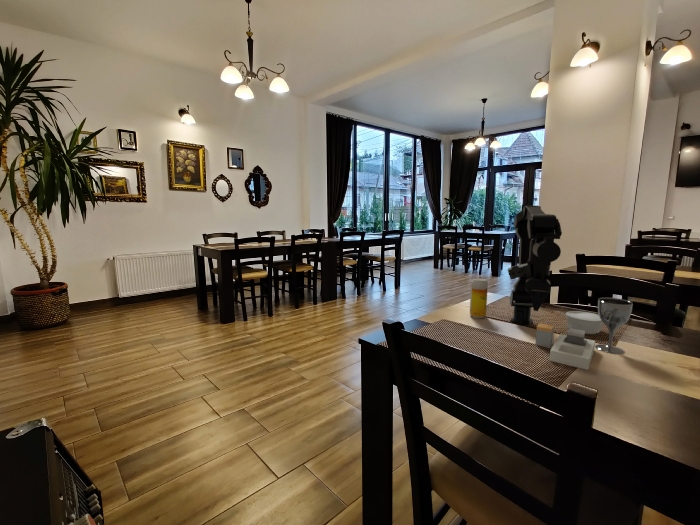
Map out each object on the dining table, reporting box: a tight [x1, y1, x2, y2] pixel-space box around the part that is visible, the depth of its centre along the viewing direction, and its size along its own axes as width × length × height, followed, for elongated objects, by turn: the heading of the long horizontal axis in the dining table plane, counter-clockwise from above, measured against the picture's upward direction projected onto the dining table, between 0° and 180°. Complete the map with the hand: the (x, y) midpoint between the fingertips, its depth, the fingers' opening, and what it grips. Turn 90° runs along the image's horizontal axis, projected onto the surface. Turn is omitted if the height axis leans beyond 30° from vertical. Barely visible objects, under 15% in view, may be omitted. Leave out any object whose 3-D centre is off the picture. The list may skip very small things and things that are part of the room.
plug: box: [535, 323, 555, 349], centre depth 105 cm, size 4×4×6 cm
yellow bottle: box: [469, 277, 489, 319], centre depth 132 cm, size 6×6×15 cm
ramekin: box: [565, 310, 604, 335], centre depth 117 cm, size 11×11×5 cm
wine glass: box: [594, 297, 634, 355], centre depth 100 cm, size 8×8×15 cm
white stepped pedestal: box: [549, 328, 596, 371], centre depth 96 cm, size 16×9×6 cm, turn 140°
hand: (535, 306), depth 103 cm, fingers open, 9 cm apart
